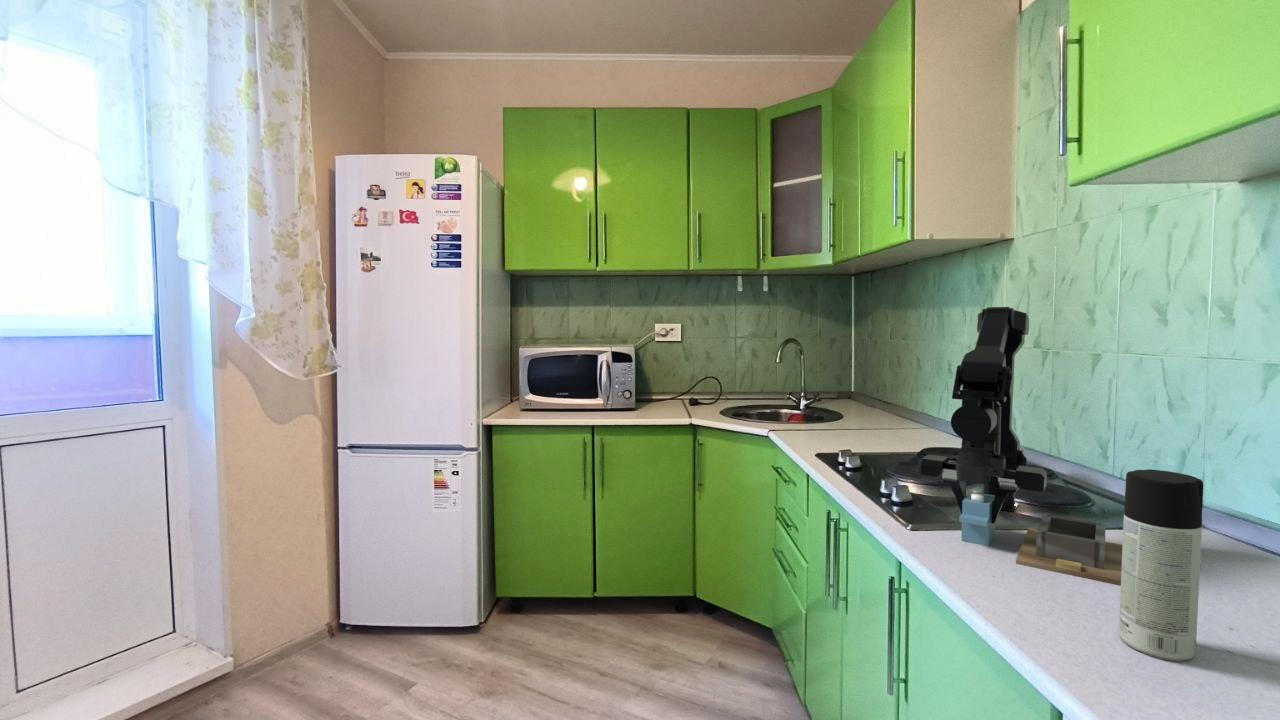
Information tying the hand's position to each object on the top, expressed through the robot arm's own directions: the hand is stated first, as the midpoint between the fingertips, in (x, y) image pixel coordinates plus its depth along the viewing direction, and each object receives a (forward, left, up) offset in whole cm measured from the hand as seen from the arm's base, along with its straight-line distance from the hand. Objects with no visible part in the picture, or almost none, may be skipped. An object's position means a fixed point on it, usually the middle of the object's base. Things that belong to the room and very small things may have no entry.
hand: (978, 520), depth 102 cm
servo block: (0, 0, -3) cm, 3 cm away
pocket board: (0, +13, -3) cm, 13 cm away
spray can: (+27, +22, -3) cm, 35 cm away
